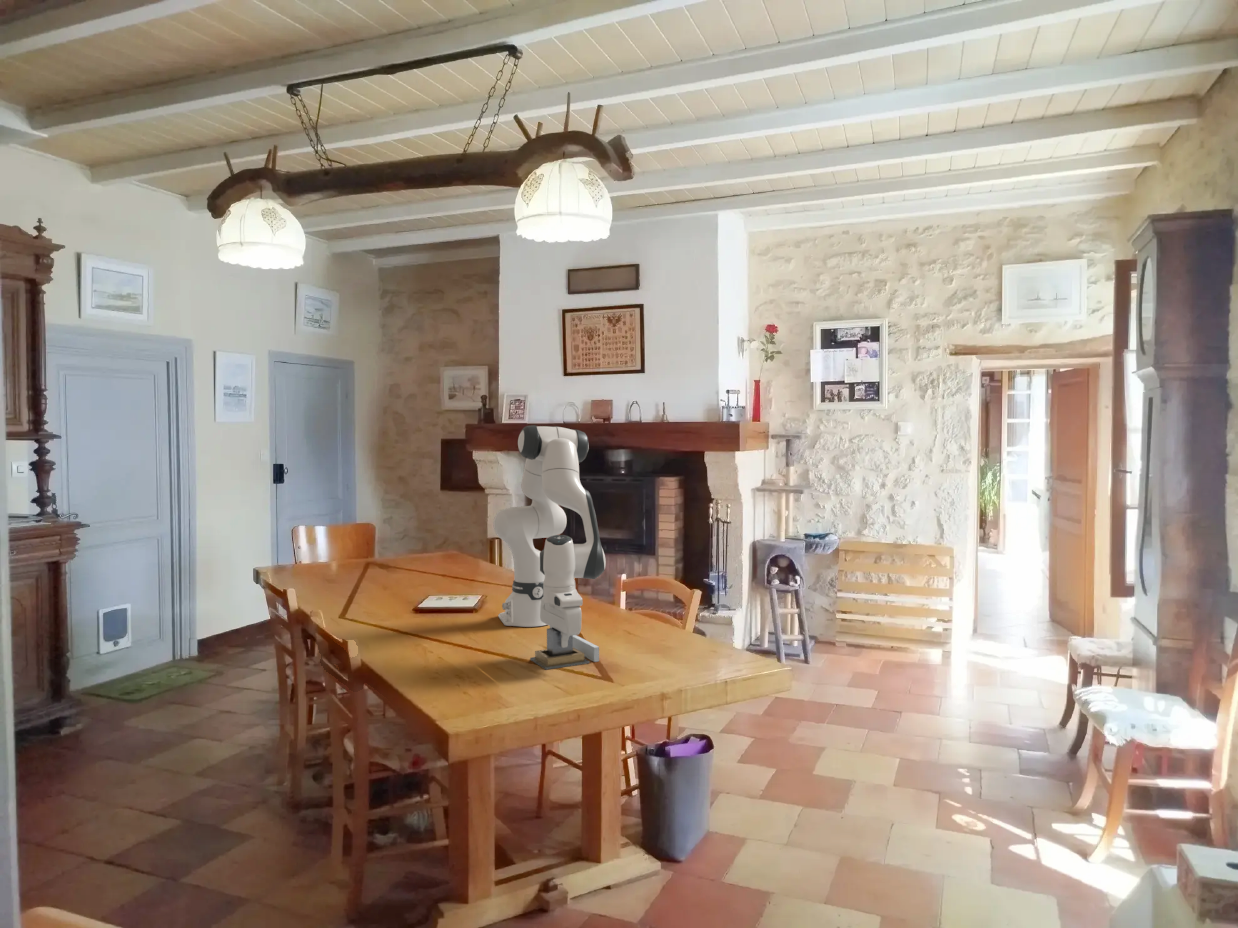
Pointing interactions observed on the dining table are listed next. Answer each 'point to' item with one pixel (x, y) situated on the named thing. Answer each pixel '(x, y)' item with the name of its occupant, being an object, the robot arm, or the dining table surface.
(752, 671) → the dining table surface
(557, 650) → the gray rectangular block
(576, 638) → the door edge
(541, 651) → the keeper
